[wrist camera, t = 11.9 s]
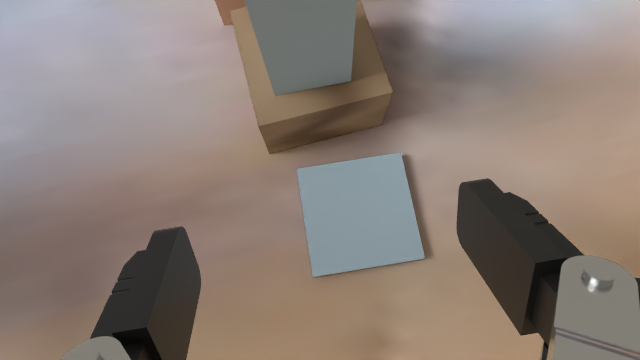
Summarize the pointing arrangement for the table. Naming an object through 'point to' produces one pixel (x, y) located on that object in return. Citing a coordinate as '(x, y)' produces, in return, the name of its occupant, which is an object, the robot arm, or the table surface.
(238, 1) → the terracotta block
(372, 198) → the swatch tile
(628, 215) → the table surface
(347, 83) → the base block
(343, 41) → the blue block
